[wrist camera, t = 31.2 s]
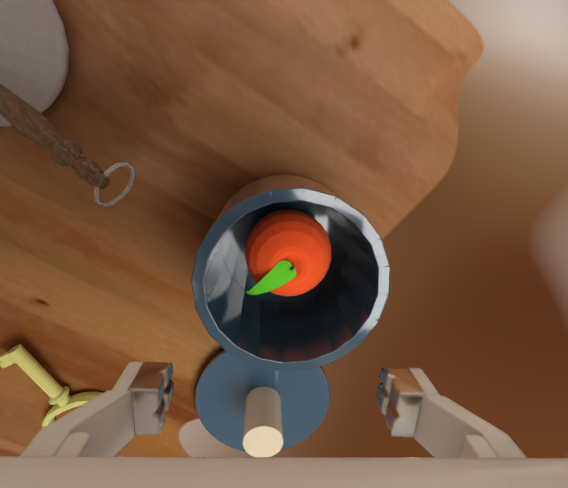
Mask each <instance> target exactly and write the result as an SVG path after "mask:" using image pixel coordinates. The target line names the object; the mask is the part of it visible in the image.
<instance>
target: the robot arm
mask: <svg viewBox="0 0 568 488" xmlns="http://www.w3.org/2000/svg"><path fill="white" fill-rule="evenodd" d="M172 374H173V365H172V363H164V362H139V361H131V362H130V363H128V365H127V366H126V368H125V370H124V371H123V373H122V374H121V376H120V377H119V379H118V381H117V382H116V384H115V385H114V387H113V389H112V390H111V391H106V392H104V393H102V394H100V395H99V396H97V397H95V398H94V399H92V400H90V401H88V402H87V403H85V404H83V405H82V406H80V407H78V408H77V409H75V410H73V411H71V412H70V413H68V414H66V415H65V416H63V417H61V418H60V419H58V420H56V421H54V422H53V423H51V424H49V425H48V426H46V427H44V428H42V429H41V430H40V431H39V432H38V433H37V435H36V436H35V437H34V438H33V440H32V441H31V442H30V443H29V445H28V446H27V447H26V448H25V450H24V451H23V452H22V453H21V455H20V456H0V488H568V458H527V457H526V456H525V455H524V454H523V452H522V451H521V450H520V449H519V448H518V447H517V445H516V444H515V443H514V442H513V441H512V439H511V438H510V437H509V436H508V435H507V434H506V433H504V432H503V431H501V430H499V429H498V428H496V427H494V426H493V425H491V424H490V423H488V422H486V421H485V420H483V419H481V418H480V417H478V416H476V415H475V414H473V413H471V412H470V411H468V410H466V409H465V408H463V407H461V406H460V405H458V404H456V403H455V402H453V401H451V400H450V399H448V398H446V397H445V396H440V394H439V393H438V391H437V390H436V389H435V387H434V386H433V385H432V383H431V382H430V380H429V379H428V377H427V376H426V375H425V373H424V372H423V371H422V369H420V368H382V370H381V372H380V379H381V381H382V383H381V384H380V385H379V386H378V389H377V402H378V406H379V409H380V411H381V412H382V413H383V414H384V415H385V416H386V419H385V423H386V425H387V427H388V429H389V432H390V434H391V436H400V437H414V439H415V440H417V441H418V442H419V443H420V444H421V445H422V446H423V447H424V448H425V449H426V450H427V451H428V452H429V453H430V454H431V455H433V456H434V457H435V458H356V457H353V458H352V457H351V458H349V457H347V458H344V457H335V458H333V457H329V458H328V457H325V458H324V457H323V458H322V457H317V458H316V457H113V456H114V455H115V454H116V453H117V452H118V451H119V450H120V449H122V448H123V447H124V446H125V445H126V444H127V443H128V442H129V441H130V440H131V439H132V438H133V437H134V436H135V435H153V434H160V433H161V430H162V427H163V425H164V422H165V412H166V411H168V410H169V408H170V405H171V402H172V397H173V382H172V380H171V376H172Z"/></svg>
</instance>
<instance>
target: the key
mask: <svg viewBox="0 0 568 488" xmlns="http://www.w3.org/2000/svg"><path fill="white" fill-rule="evenodd" d="M0 361H1V362H0V366H1V367H2V368H5V367H7V366H9V365H12V364H14V363H16V364H17V365H18V366H19V367H20V368H21V369H22V370H23V371H24V372H25V373H26V374H27V375H28V376H29V377H30V378H31V379H32V380H33V381H34V382H35V383H36V384H37V385H38V386H39V387H40V388H41V389H42V390H43V391H44V392H45V393H46V394H47V395H48V396H49V397H50V399H49V404H51V405H54V404H56V405H54V406H53V407H52V408H51V409H50V410H49V411H48V413H47V414H46V416H45V418H44V420H43V424H42V427H43V428H44V427H46V426H48V425H49V424H51V423H53V422H54V421H56V420H55V418H54V417H55V416H56V415H58V414H60V413H61V412H63V411H65V410H68V409H71V408H74V407H77V406H82V405H83V404H85V403H87V402H88V401H90V400H92V399H94V398H95V397H97V396H99V395H100V394H102V392H83V393H79V394H75V395H73V396H70V395H69V394H68V393H69V391H70V388H69V387H67V386H65V387H61V386H60V385H59V383H58V382H57V381H56V380H55V379H54V378H53V377H52V376H51V375H50V374H49V373H48V372H47V371H46V370H45V369H44V368H43V367H42V366H41V365H40V364H39V363H38V362H37V361H36V360H35V359H34V358H33V357H32V355H31V354H30V353H29V352H28V351H27V350H26V349H25V348H24V347H23V346H22V345H21V344H20V345H17V346H15V347H14V348H12V349H11V350H10V351H9V352H7V353H5V354H3V355H1V356H0Z"/></svg>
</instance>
